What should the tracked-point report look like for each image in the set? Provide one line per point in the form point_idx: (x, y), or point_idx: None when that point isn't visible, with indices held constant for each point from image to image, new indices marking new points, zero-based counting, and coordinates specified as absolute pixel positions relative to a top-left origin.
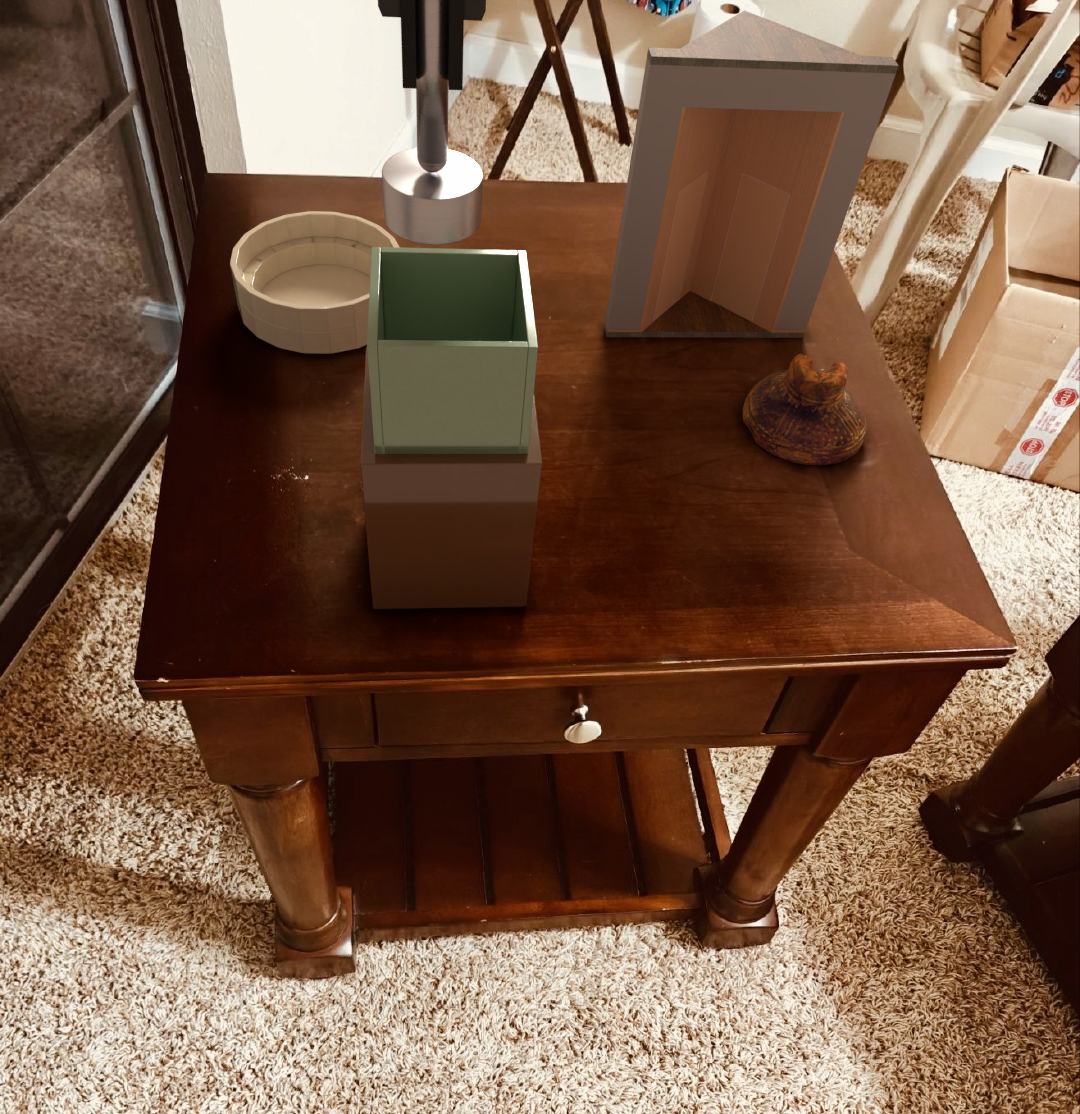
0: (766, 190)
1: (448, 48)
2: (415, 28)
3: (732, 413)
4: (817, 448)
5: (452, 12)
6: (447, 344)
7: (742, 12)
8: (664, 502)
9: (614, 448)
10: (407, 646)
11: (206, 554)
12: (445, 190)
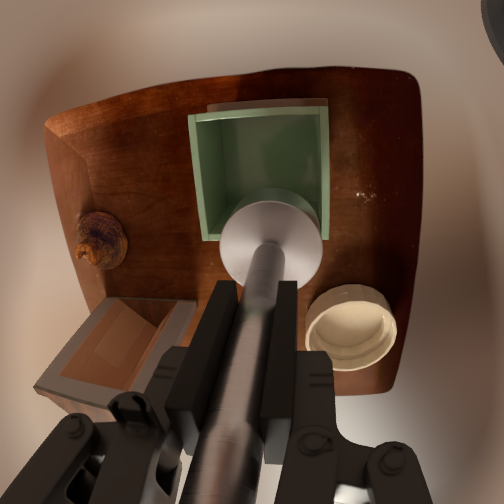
0: (106, 356)
1: (230, 326)
2: (272, 329)
3: (132, 245)
4: (93, 216)
5: (207, 346)
6: (260, 110)
7: None
8: (164, 181)
9: (189, 219)
10: (297, 79)
11: (403, 142)
12: (255, 218)
